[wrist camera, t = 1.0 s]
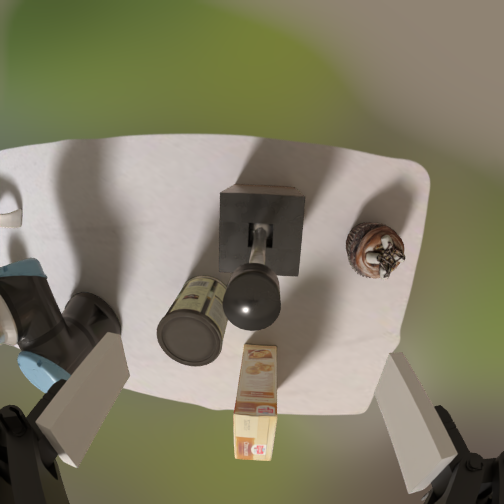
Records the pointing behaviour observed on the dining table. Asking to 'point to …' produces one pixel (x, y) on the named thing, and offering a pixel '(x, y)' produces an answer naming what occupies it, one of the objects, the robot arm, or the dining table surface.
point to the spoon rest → (11, 219)
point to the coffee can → (195, 323)
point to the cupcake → (374, 250)
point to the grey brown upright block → (267, 212)
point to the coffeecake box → (256, 404)
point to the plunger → (254, 286)
